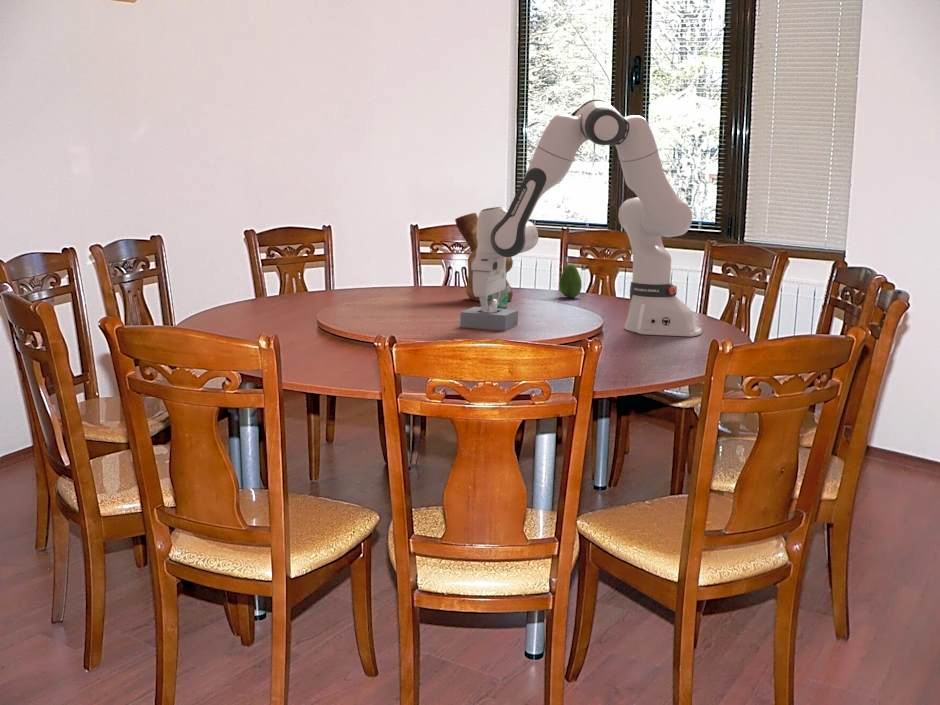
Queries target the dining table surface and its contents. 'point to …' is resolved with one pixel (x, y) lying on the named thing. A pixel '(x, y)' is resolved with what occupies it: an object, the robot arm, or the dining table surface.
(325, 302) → the dining table surface
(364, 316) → the dining table surface
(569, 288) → the avocado
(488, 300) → the cylinder
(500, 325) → the slate jig
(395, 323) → the dining table surface
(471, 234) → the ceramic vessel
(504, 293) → the food container
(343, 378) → the dining table surface
